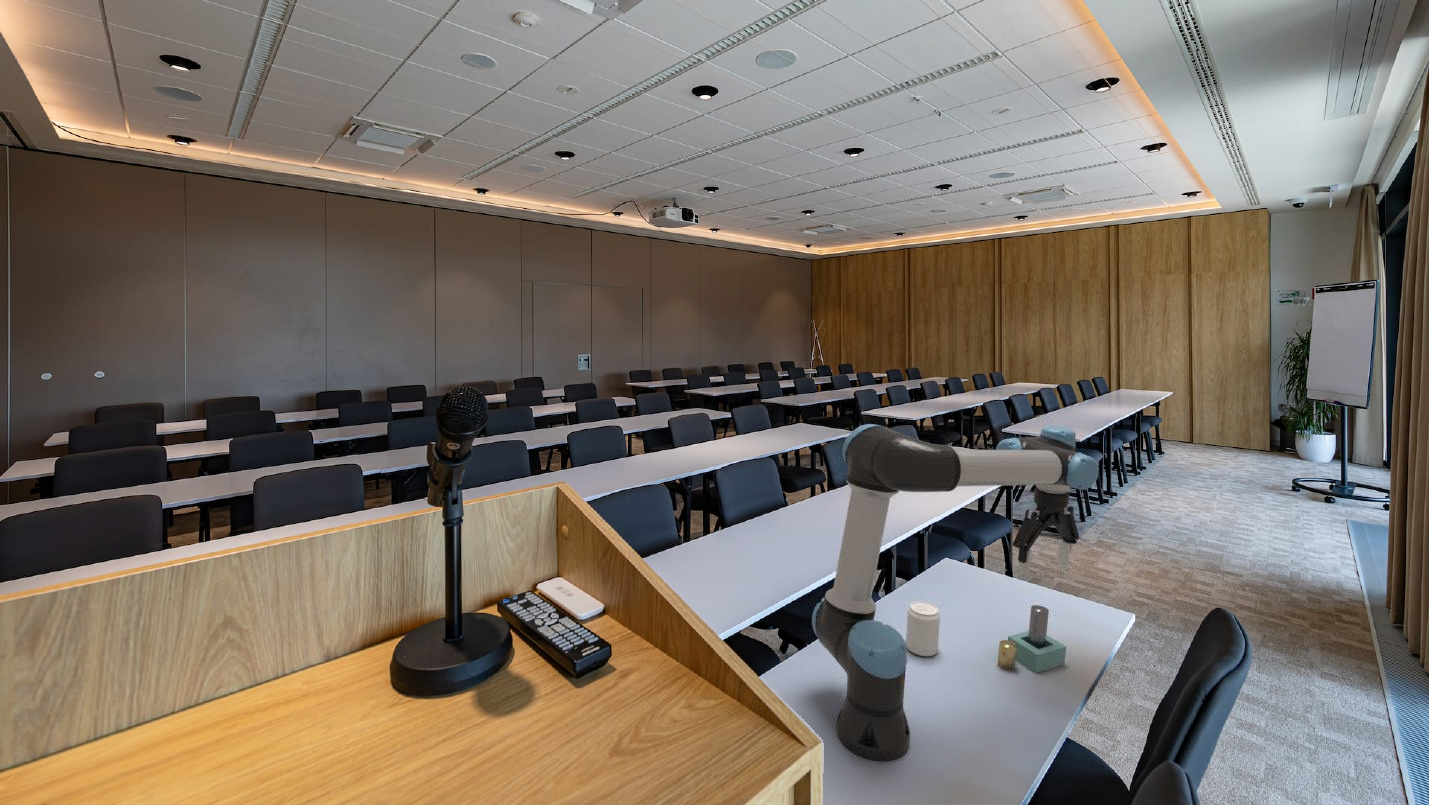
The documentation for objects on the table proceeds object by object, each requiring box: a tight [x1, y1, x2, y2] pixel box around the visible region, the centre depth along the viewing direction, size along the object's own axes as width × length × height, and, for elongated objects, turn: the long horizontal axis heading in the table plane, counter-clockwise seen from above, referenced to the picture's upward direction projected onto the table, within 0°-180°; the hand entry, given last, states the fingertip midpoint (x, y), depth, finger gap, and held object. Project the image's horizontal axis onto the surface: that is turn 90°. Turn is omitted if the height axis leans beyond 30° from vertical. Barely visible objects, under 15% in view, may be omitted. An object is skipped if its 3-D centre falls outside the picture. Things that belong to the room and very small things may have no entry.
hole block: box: [1007, 630, 1067, 674], centre depth 157 cm, size 10×9×5 cm
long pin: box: [1028, 604, 1050, 649], centre depth 157 cm, size 4×4×14 cm
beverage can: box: [905, 600, 941, 657], centre depth 161 cm, size 8×8×12 cm
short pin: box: [997, 639, 1017, 672], centre depth 154 cm, size 4×4×6 cm
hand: (1043, 570), depth 154 cm, fingers open, 13 cm apart
